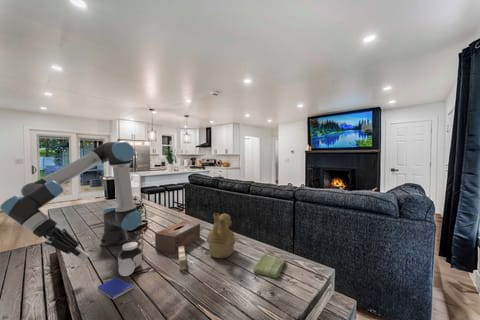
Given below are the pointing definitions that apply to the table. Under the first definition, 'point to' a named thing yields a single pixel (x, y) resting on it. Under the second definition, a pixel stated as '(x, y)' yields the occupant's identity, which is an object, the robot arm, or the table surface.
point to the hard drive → (115, 288)
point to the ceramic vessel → (221, 237)
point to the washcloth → (269, 266)
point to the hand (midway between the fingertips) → (86, 257)
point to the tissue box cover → (177, 236)
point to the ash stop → (181, 258)
